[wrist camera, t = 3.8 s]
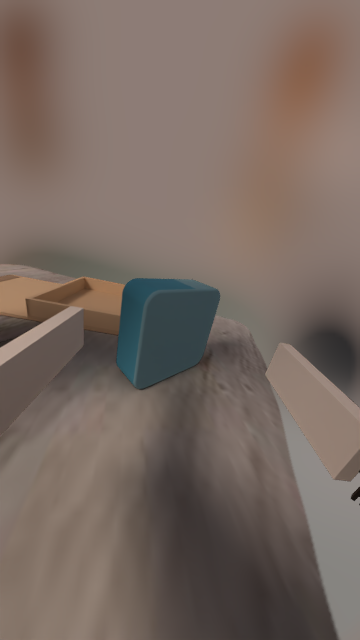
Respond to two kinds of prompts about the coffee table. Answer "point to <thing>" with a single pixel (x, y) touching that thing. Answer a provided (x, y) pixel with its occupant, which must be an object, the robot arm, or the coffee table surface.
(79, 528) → the coffee table surface
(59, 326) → the robot arm
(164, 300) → the data package
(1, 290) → the mailer box
